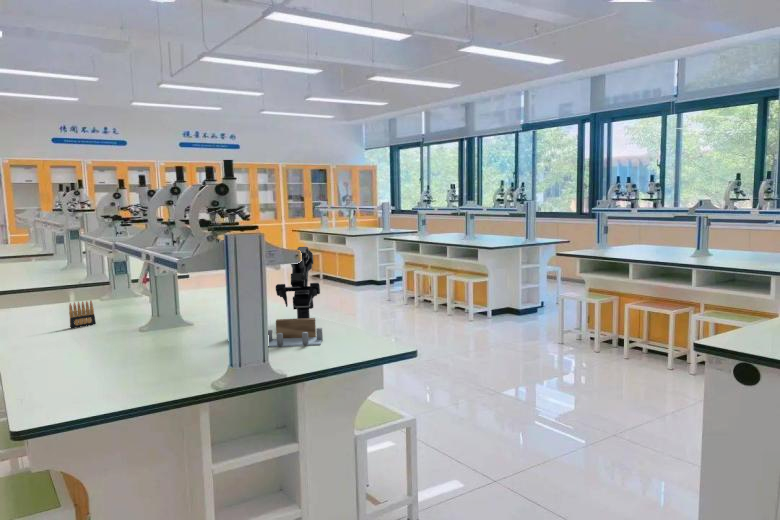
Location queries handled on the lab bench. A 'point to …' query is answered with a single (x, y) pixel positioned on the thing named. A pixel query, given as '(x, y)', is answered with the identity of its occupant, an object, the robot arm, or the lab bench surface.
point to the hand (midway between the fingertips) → (297, 306)
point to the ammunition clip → (81, 315)
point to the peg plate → (295, 339)
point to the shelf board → (296, 327)
